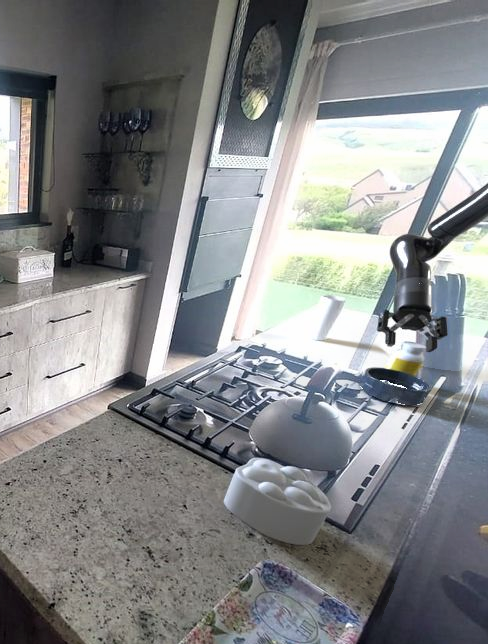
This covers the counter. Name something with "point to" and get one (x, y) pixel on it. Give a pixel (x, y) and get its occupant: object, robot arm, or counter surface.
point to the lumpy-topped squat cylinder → (277, 501)
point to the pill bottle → (407, 358)
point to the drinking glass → (325, 316)
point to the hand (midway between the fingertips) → (410, 348)
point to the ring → (410, 396)
